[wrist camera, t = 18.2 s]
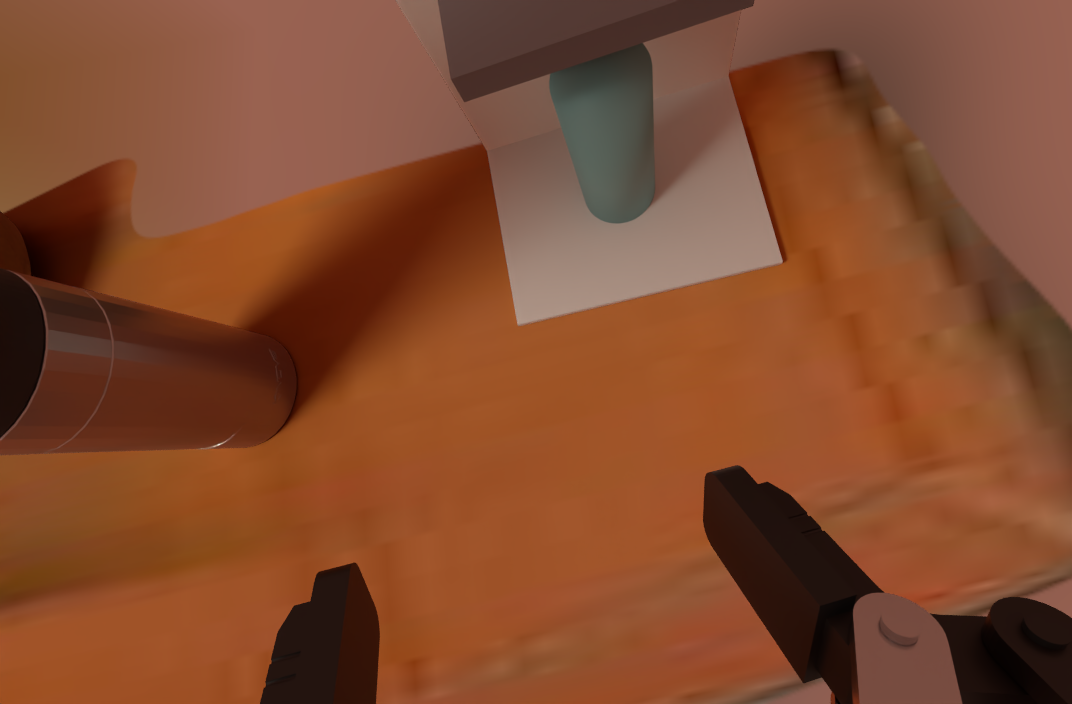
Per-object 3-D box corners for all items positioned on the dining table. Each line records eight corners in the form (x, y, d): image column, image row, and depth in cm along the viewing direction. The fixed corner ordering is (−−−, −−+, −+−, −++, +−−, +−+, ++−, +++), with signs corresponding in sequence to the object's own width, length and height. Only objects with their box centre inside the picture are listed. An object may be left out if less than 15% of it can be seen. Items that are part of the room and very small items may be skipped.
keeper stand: (519, 326, 37) (401, 234, 20) (484, 131, 40) (358, -89, 23) (781, 263, 33) (905, 90, 17) (720, 55, 37) (773, -268, 20)
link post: (591, 231, 36) (559, 136, 25) (577, 168, 37) (540, 49, 26) (662, 212, 35) (663, 104, 24) (646, 148, 36) (639, 15, 25)
